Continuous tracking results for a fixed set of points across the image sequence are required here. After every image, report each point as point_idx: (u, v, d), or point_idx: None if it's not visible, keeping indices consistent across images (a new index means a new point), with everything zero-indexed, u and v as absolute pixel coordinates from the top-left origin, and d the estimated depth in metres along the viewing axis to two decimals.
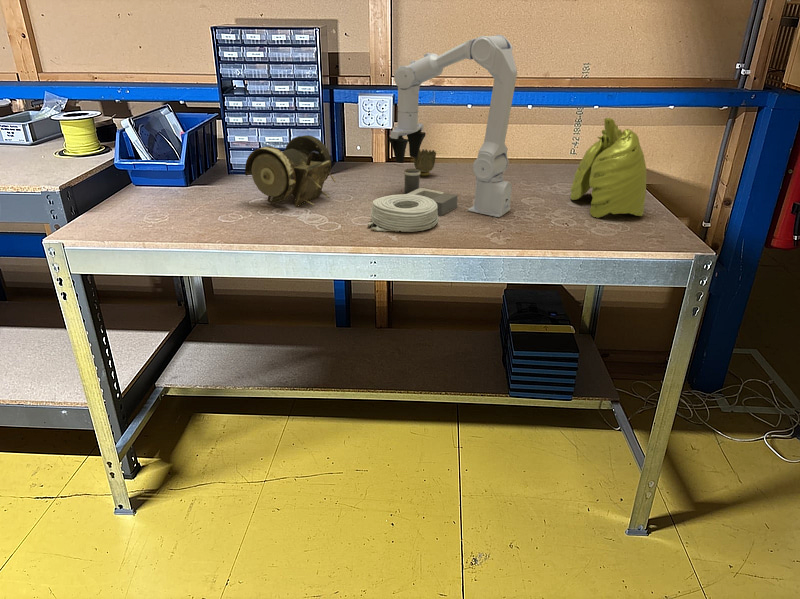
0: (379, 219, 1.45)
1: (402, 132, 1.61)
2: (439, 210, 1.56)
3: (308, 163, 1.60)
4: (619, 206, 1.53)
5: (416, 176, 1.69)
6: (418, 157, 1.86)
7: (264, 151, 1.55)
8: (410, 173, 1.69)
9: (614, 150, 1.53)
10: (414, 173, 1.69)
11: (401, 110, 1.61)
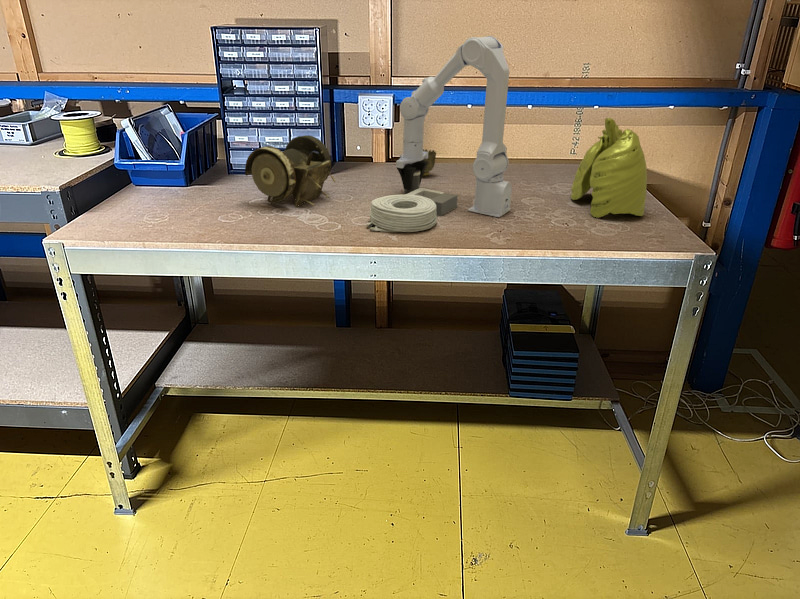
0: (378, 219, 1.45)
1: (407, 161, 1.64)
2: (439, 210, 1.56)
3: (308, 163, 1.60)
4: (619, 206, 1.53)
5: (416, 176, 1.69)
6: None
7: (264, 151, 1.55)
8: None
9: (614, 150, 1.53)
10: (414, 173, 1.69)
11: (406, 140, 1.64)
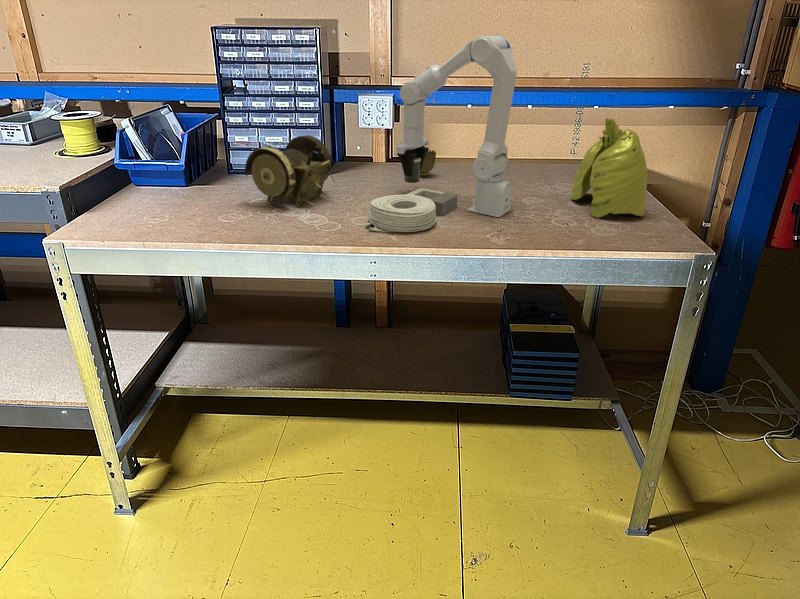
0: (377, 219, 1.45)
1: (408, 147, 1.62)
2: (439, 210, 1.56)
3: (308, 163, 1.60)
4: (620, 206, 1.53)
5: (416, 163, 1.67)
6: None
7: (264, 151, 1.55)
8: None
9: (614, 150, 1.53)
10: (414, 160, 1.67)
11: (407, 125, 1.62)
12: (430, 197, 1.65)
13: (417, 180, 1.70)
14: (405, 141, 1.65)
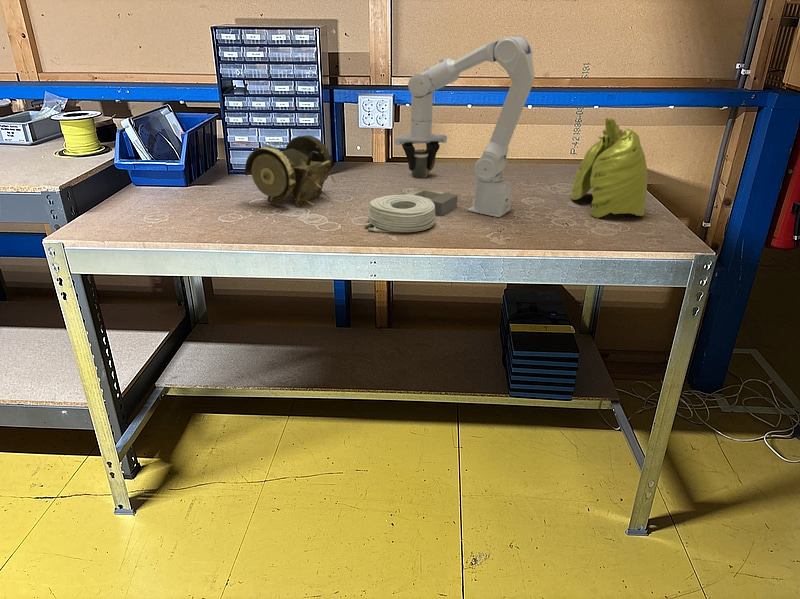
0: (376, 220, 1.44)
1: (404, 139, 1.58)
2: (439, 210, 1.56)
3: (308, 163, 1.60)
4: (620, 206, 1.53)
5: (419, 158, 1.61)
6: None
7: (264, 151, 1.55)
8: None
9: (615, 150, 1.53)
10: (416, 154, 1.61)
11: (416, 119, 1.56)
12: (430, 197, 1.65)
13: (420, 176, 1.64)
14: None
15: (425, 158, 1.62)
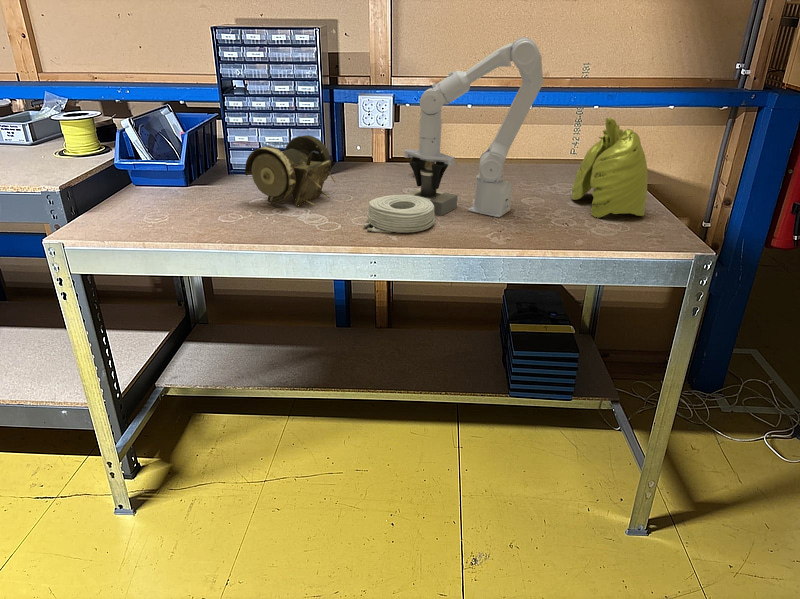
0: (375, 220, 1.44)
1: (410, 153, 1.58)
2: (439, 210, 1.56)
3: (308, 163, 1.60)
4: (620, 206, 1.53)
5: (422, 175, 1.58)
6: None
7: (264, 151, 1.55)
8: (420, 170, 1.59)
9: (615, 150, 1.53)
10: (421, 171, 1.58)
11: (428, 137, 1.51)
12: (430, 197, 1.65)
13: (423, 194, 1.60)
14: None
15: (429, 177, 1.57)
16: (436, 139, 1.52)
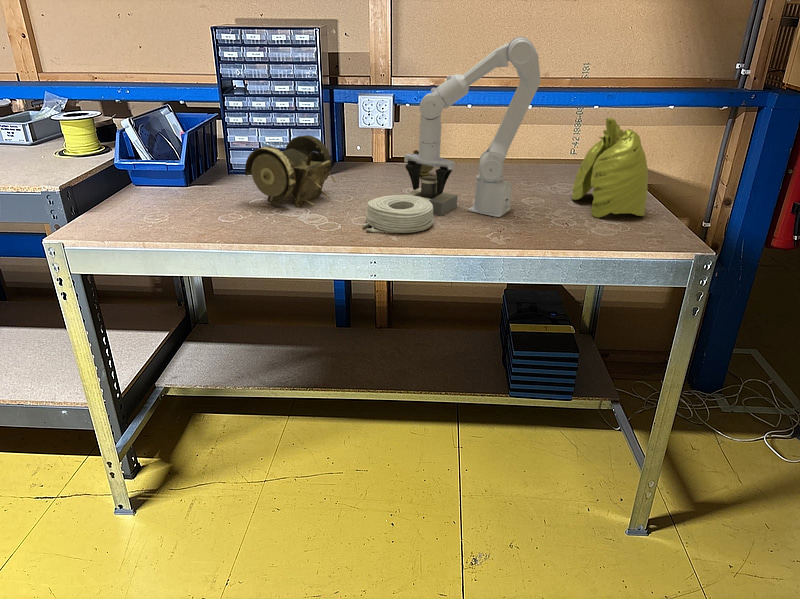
0: (374, 220, 1.44)
1: (410, 158, 1.58)
2: (439, 210, 1.56)
3: (308, 163, 1.60)
4: (620, 206, 1.53)
5: (422, 183, 1.59)
6: None
7: (264, 151, 1.55)
8: (421, 178, 1.60)
9: (615, 150, 1.53)
10: (421, 179, 1.59)
11: (427, 141, 1.52)
12: None
13: None
14: None
15: (429, 185, 1.58)
16: (436, 144, 1.53)
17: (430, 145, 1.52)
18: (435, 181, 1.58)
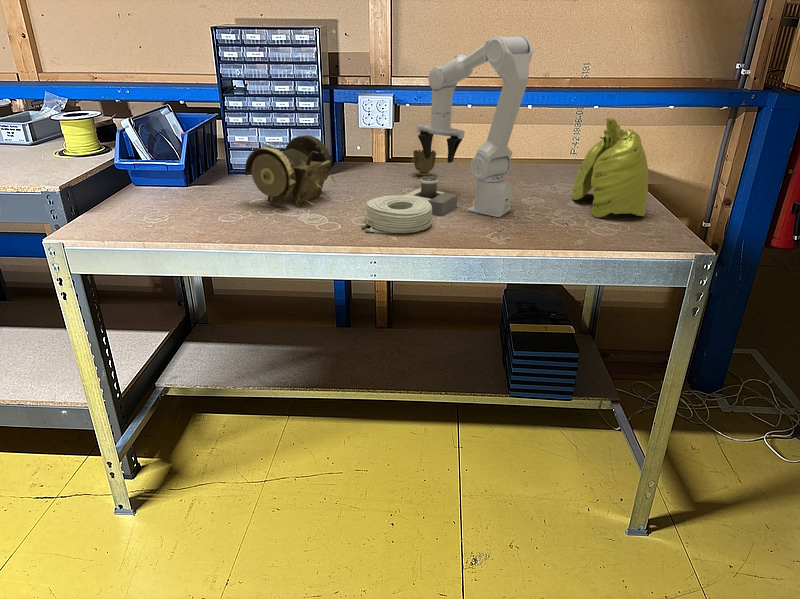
0: (373, 220, 1.44)
1: (423, 128, 1.69)
2: (439, 210, 1.56)
3: (308, 163, 1.60)
4: (621, 206, 1.53)
5: (422, 183, 1.59)
6: (418, 157, 1.86)
7: (264, 151, 1.55)
8: None
9: (616, 150, 1.53)
10: (421, 179, 1.59)
11: (433, 110, 1.64)
12: None
13: None
14: None
15: (429, 185, 1.58)
16: (447, 114, 1.63)
17: (442, 115, 1.63)
18: (435, 181, 1.58)
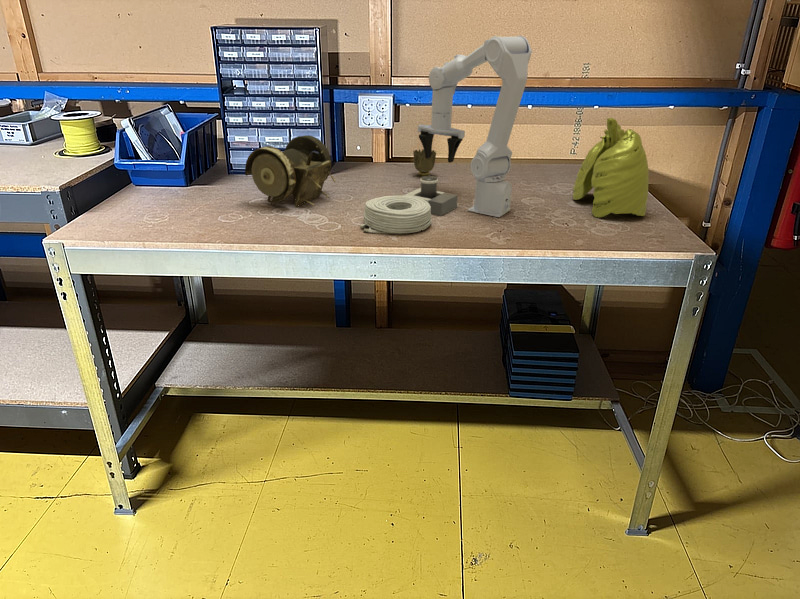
0: (372, 221, 1.44)
1: (423, 128, 1.69)
2: (439, 210, 1.56)
3: (308, 163, 1.60)
4: (621, 206, 1.53)
5: (422, 183, 1.59)
6: (418, 157, 1.86)
7: (264, 151, 1.55)
8: None
9: (616, 150, 1.53)
10: (421, 179, 1.59)
11: (433, 110, 1.64)
12: None
13: None
14: None
15: (429, 185, 1.58)
16: (447, 114, 1.64)
17: (442, 115, 1.64)
18: (435, 181, 1.58)
